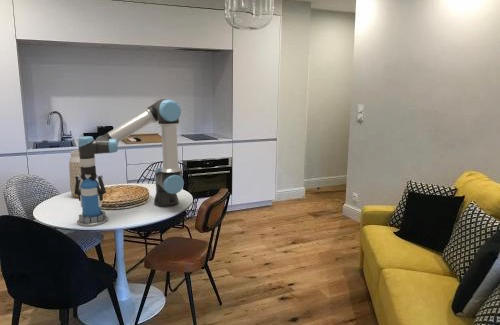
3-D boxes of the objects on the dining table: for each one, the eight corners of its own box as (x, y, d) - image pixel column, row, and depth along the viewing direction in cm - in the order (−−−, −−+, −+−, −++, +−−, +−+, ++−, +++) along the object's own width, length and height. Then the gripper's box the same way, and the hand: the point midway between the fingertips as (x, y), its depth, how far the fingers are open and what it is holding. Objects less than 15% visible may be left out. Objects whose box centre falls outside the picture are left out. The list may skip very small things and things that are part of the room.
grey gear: (112, 216, 225) (111, 208, 224) (101, 226, 210) (101, 218, 209) (84, 216, 226) (83, 208, 225) (71, 226, 210) (70, 218, 209)
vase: (68, 196, 269) (63, 151, 263) (88, 192, 278) (84, 148, 272) (75, 200, 259) (71, 153, 253) (96, 196, 268) (92, 151, 262)
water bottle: (105, 216, 220) (101, 172, 215) (93, 222, 212) (89, 176, 207) (91, 215, 223) (87, 171, 218) (79, 220, 215) (75, 175, 210)
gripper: (110, 164, 215) (113, 204, 220) (71, 164, 216) (74, 204, 220) (105, 167, 208) (108, 208, 212) (64, 167, 208) (68, 208, 213)
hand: (91, 206), depth 216 cm, fingers closed on water bottle, 9 cm apart
